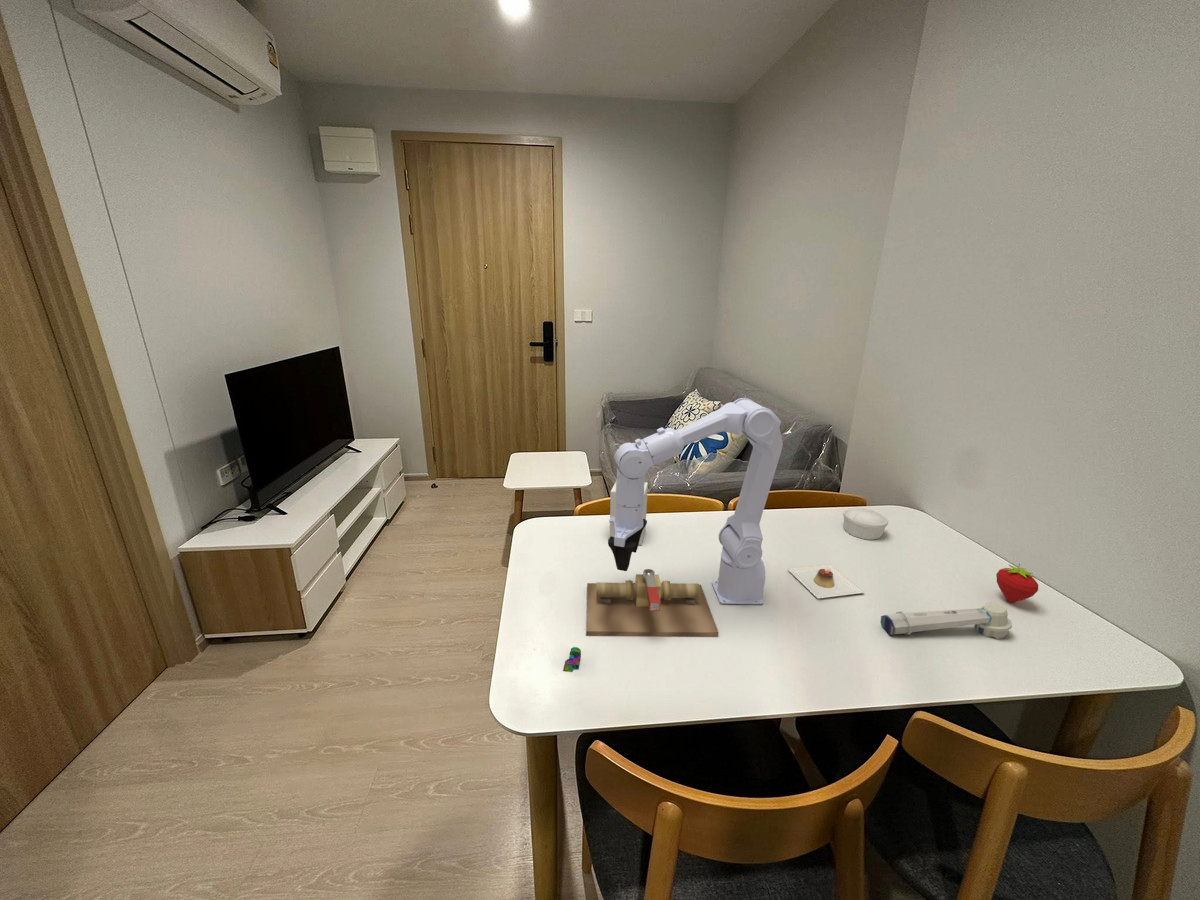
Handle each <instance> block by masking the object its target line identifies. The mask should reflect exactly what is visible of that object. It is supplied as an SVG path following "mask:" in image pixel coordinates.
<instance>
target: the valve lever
mask: <svg viewBox="0 0 1200 900" xmlns="http://www.w3.org/2000/svg"><path fill="white" fill-rule="evenodd" d="M642 574H643V580H644V581H645V582H646V588H647V600H648V606H649V611H660V598H659V594H658V589H657V587H656V585H655V581H654V575H656V574H655V570H653V569H651V568H646V569H644V570H643V572H642Z"/></svg>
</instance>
